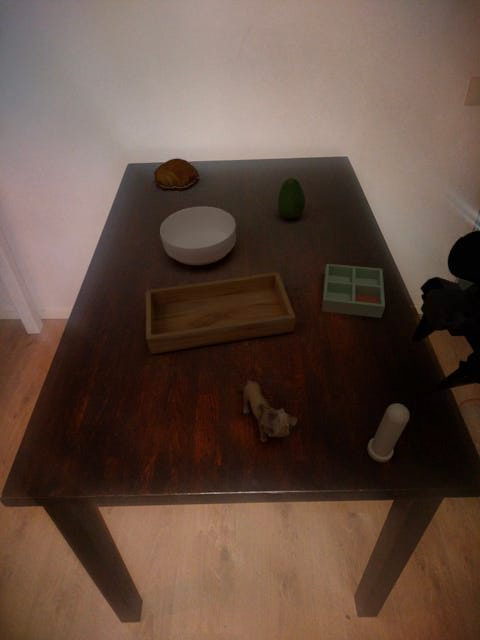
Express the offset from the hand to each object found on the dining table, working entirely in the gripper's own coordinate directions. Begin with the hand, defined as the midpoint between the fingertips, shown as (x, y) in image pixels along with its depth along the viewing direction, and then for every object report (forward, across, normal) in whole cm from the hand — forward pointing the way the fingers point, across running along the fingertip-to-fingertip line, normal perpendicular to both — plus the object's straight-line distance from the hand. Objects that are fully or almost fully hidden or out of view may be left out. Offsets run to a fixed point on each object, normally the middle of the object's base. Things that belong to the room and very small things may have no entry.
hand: (425, 363), depth 59 cm
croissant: (+31, -94, -35) cm, 105 cm away
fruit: (+16, -66, -3) cm, 68 cm away
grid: (+13, -31, +5) cm, 34 cm away
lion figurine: (+23, 0, -17) cm, 29 cm away
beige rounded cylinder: (+15, +7, 0) cm, 17 cm away
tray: (+26, -26, -24) cm, 44 cm away
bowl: (+28, -52, -27) cm, 65 cm away
